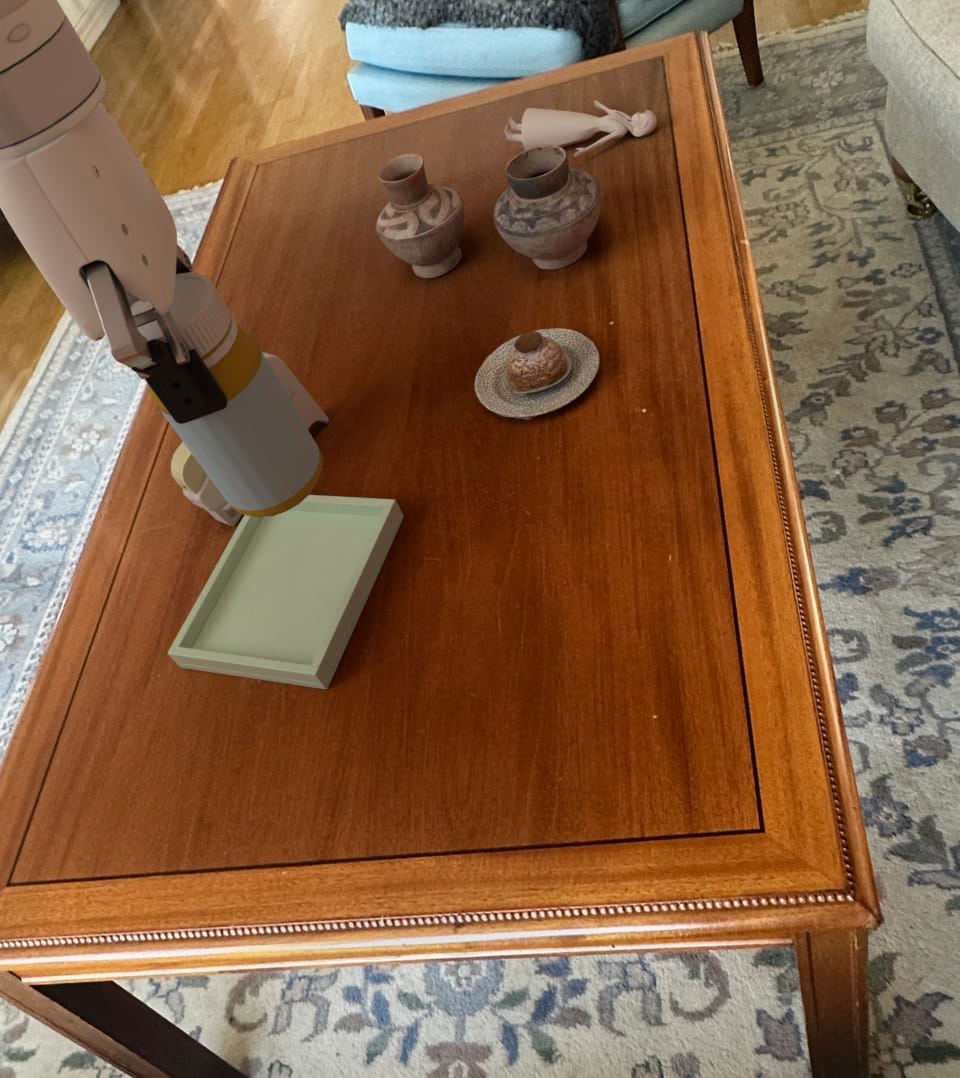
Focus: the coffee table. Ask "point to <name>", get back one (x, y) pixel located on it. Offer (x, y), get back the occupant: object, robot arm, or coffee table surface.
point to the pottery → (519, 214)
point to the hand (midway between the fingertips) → (203, 370)
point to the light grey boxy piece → (195, 477)
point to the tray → (289, 591)
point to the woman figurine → (576, 127)
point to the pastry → (537, 373)
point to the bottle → (239, 409)
